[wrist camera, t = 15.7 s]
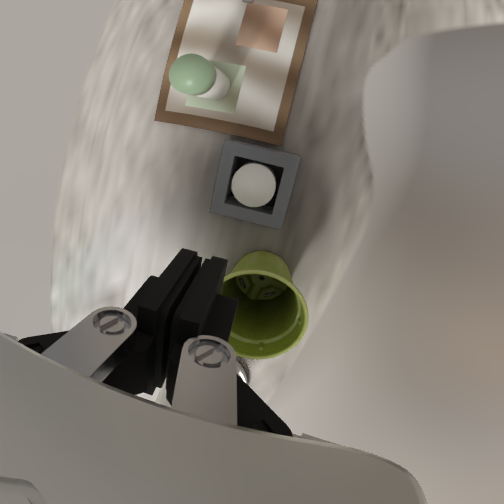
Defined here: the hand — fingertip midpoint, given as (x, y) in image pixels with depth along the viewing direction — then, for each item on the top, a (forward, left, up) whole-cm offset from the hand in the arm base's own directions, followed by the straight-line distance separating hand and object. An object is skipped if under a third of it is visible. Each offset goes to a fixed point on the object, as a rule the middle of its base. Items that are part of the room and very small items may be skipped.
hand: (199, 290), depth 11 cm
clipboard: (+12, +5, -22) cm, 25 cm away
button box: (0, 0, -22) cm, 22 cm away
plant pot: (-10, -3, -22) cm, 24 cm away
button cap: (0, 0, -21) cm, 21 cm away
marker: (+9, +6, -21) cm, 23 cm away
